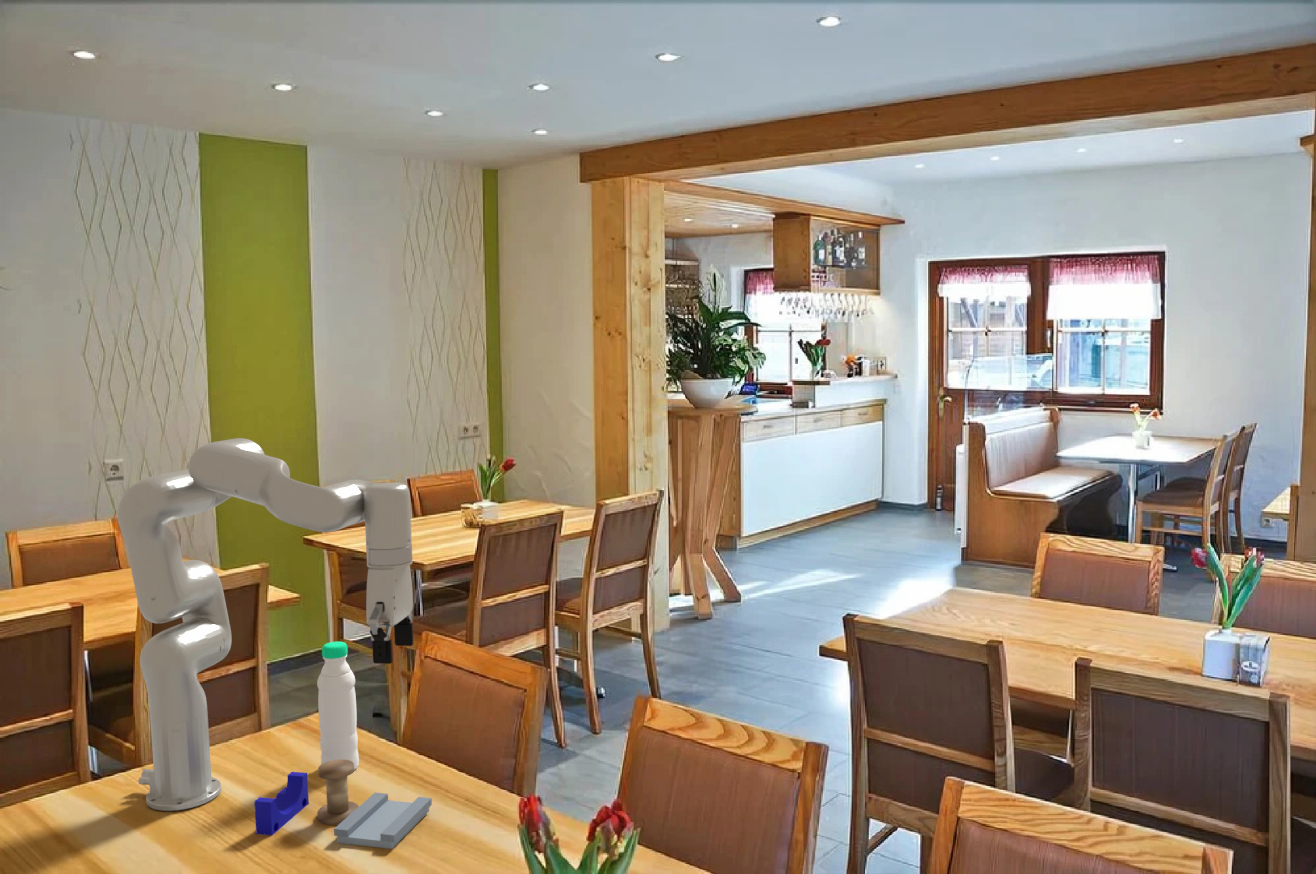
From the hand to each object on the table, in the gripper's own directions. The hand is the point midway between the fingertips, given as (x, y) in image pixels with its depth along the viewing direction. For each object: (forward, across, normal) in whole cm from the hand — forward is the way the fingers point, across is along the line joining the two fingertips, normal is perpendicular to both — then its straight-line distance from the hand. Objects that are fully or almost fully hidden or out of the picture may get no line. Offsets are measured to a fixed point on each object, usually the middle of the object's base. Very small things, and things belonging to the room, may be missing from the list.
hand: (393, 654), depth 182 cm
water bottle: (+30, -20, -20) cm, 41 cm away
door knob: (+30, 0, -12) cm, 32 cm away
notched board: (+30, +2, -2) cm, 30 cm away
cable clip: (+30, +1, -22) cm, 37 cm away
